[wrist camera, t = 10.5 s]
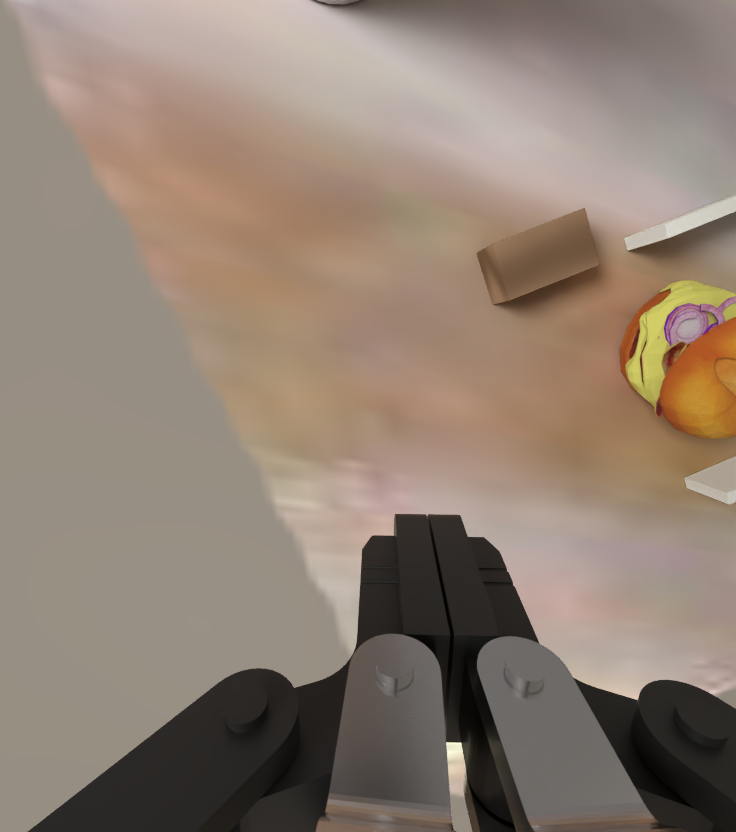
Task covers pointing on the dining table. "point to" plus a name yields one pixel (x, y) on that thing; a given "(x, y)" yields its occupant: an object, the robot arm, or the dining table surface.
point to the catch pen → (731, 475)
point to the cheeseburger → (686, 357)
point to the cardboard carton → (538, 257)
